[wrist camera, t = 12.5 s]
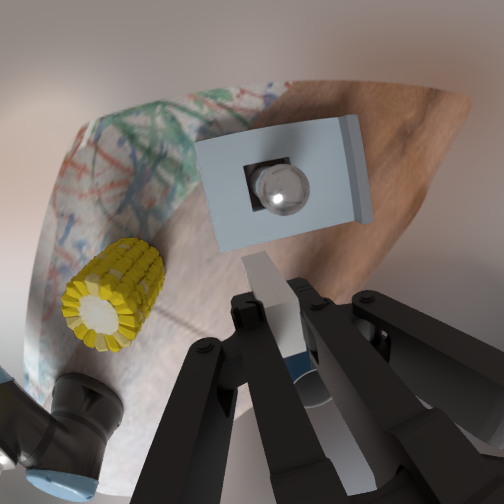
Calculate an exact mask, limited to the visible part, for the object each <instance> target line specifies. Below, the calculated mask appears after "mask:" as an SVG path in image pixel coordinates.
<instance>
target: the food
mask: <svg viewBox="0 0 504 504" xmlns="http://www.w3.org/2000/svg"><path fill="white" fill-rule="evenodd" d="M165 270H166V269H165V268H164V266H163V262H162V257H160V256H159V252H158V250H157V249H156V248H154V247H152V246H150V247H149V244H148V243H146V242H145V241H143V240H142V239H141V240H140V241H139V239H138V238H134V237H133V238H127V239H126V238H121V239H120V240H119V241H117V242H115V243H114V244H111V245H110V246H108V247H107V248H106V249H105V250H104V251H102V252H101V253H100V254H98V255H97V256H94V258H93V260H91V261H90V262H89V263H88V264H87V265H85V266H84V268H83V269H82V270H81V271H80V272H79V273H78V274H77V275H76V276H74V277H73V278H72V279H71V282H69V283H67V284H66V291H65V292H64V294H63V295H62V297H61V300H62V302H63V305H62V306H61V310H62V313H63V316H64V317H66V322H67V326H68V327H69V328H71V329H72V330H73V331H74V333H75V335H76V337H77V338H79V339H81V340H83V341H84V343H85V345H86V346H88V347H91V348H94V347H96V348H97V350H98V352H99V351H108V349H110V350H111V351H113V352H114V353H115V352H117V351H119V350H121V349H122V347H128V346H130V345H131V342H132V340H135V338H136V336H137V334H138V332H140V331H141V326H142V325H143V324H144V322H145V319H146V318H148V316H149V313H150V311H151V308H152V307H153V305H154V303H155V301H156V298H157V296H158V294H159V291H161V290H162V286H163V282H164V280H165V279H164V275H165V274H164V273H165Z"/></svg>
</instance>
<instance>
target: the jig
mask: <svg viewBox="0 0 504 504" xmlns="http://www.w3.org/2000/svg"><path fill="white" fill-rule="evenodd" d="M193 144H194V148H195V153H196V157H197V161H198V166H199V170H200V174H201V178H202V182H203V187H204V191H205V195H206V199H207V203H208V207H209V211H210V215H211V219H212V223H213V227H214V231H215V235H216V239H217V243H218V247H219V250H220V253H223V252H227V251H231V250H235V249H239V248H243V247H247V246H251V245H255V244H259V243H263V242H268V241H272V240H276V239H280V238H284V237H288V236H292V235H296V234H301V233H305V232H309V231H313V230H317V229H321V228H325V227H330V226H334V225H338V224H342V223H346V222H351V221H357V222H359V223H361V224H367V223H371V222H373V216H372V206H371V197H370V189H369V181H368V173H367V167H366V160H365V154H364V148H363V142H362V136H361V131H360V126H359V121H358V116H357V114H352V115H344V116H341V117H335V118H326V119H318V120H310V121H302V122H295V123H288V124H282V125H276V126H270V127H264V128H259V129H253V130H248V131H243V132H238V133H234V134H229V135H224V136H220V137H215V138H211V139H207V140H203V141H199V142H195V143H193ZM279 158H284V162H285V164H289V165H293V166H295V167H297V168H299V169H300V170H301V171H302V172H303V173H304V174H305V175H306V177H307V179H308V181H309V185H310V195H309V198H308V201H307V203H306V204H305V206H304V207H303V208H302V209H301V210H300V211H299V212H297V213H295V214H293V215H289V216H279V215H276V214H273V213H271V212H270V211H269V210H267V209H266V208H265V207H264V206H263V205H262V206H257V207H253V208H252V206H251V201H250V196H249V192H248V187H247V183H246V178H245V174H244V169H243V166H245V165H249V164H254V163H259V162H264V161H269V160H274V159H279Z"/></svg>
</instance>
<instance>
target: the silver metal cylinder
mask: <svg viewBox="0 0 504 504" xmlns="http://www.w3.org/2000/svg"><path fill="white" fill-rule="evenodd" d="M250 188H251V190H252V192H253V193H254V194H255V195H256V196H257V197H258V198H259V199H260V201H261V203H262V204H263V206H264V207H265V208H266V209H267V210H269V211H270V212H271V213H273V214H276V215H279V216H289V215H293V214H295V213H297V212H299V211H300V210H301V209H302V208H303V207H304V206H305V204H306V203H307V201H308V198H309V195H310V185H309V181H308V179H307V177H306V175H305V174H304V173H303V172H302V171H301V170H300V169H299V168H297V167H295V166H293V165H289V164H278V165H275V166H272V167H271V166H262V167H259V168H258V169H256V170H255V171H254V172H253V173H252V175H251V177H250Z"/></svg>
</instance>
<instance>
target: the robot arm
mask: <svg viewBox="0 0 504 504" xmlns="http://www.w3.org/2000/svg"><path fill="white" fill-rule="evenodd" d="M241 260H242V264H243V268H244V272H245V276H246V280H247V284H248V288H249V292H247V293H243V294H240V295H236V296H233V298H232V300H231V306H232V308H231V316H232V319H233V322H234V326H235V329H236V330H235V332H234V334H233V335H232V336H231V337H229V338H228V339H226V340H224V341H222V342H221V341H220V340H219V339H217V338H214V337H207V338H202V339H200V340H198V341H196V342H195V343H193V344H192V345H191V347H190V348H189V350H188V353H187V355H186V358H185V360H184V362H183V365H182V367H181V370H180V372H179V375H178V377H177V380H176V382H175V385H174V388H173V390H172V393H171V395H170V398H169V400H168V403H167V405H166V408H165V410H164V413H163V416H162V418H161V421H160V423H159V426H158V428H157V431H156V434H155V436H154V439H153V442H152V444H151V447H150V449H149V452H148V455H147V457H146V460H145V463H144V465H143V468H142V471H141V473H140V476H139V479H138V482H137V484H136V487H135V490H134V493H133V495H132V498H131V501H130V504H220V499H221V493H222V487H223V481H224V475H225V469H226V463H227V457H228V450H229V444H230V438H231V431H232V426H233V420H234V413H235V407H236V401H237V394H238V388H237V387H239V386H241V385H243V384H245V383H247V382H248V387H249V391H250V395H251V399H252V403H253V407H254V412H255V416H256V420H257V424H258V428H259V432H260V436H261V440H262V444H263V447H264V451H265V455H266V459H267V463H268V467H269V471H270V480H271V484H272V488H273V492H274V496H275V499H276V502H277V504H504V457H497V456H491V455H485V454H480V453H479V452H478V451H477V449H476V448H475V447H474V446H473V445H472V443H471V442H470V441H469V440H468V439H467V438H466V436H465V435H464V434H463V433H462V432H461V431H460V429H459V428H458V427H457V426H456V425H455V424H454V422H455V423H456V424H458V425H459V426H461V427H462V428H463V429H465V430H466V431H468V432H469V433H471V434H472V435H474V436H475V437H477V438H478V439H480V440H482V441H483V442H485V443H487V444H489V445H491V446H494V447H496V448H499V449H503V450H504V352H502V351H501V350H499V349H497V348H494V347H492V346H490V345H488V344H486V343H484V342H482V341H480V340H478V339H476V338H474V337H472V336H470V335H468V334H466V333H464V332H462V331H460V330H458V329H455V328H453V327H451V326H449V325H447V324H445V323H443V322H441V321H439V320H437V319H435V318H432V317H430V316H428V315H426V314H424V313H422V312H419V311H418V310H416V309H413V308H411V307H409V306H407V305H405V304H402V303H400V302H398V301H396V300H394V299H392V298H390V297H388V296H386V295H384V294H381V293H379V292H376V291H372V290H365V291H361V292H358V293H356V294H355V295H353V297H352V303H350V304H343V305H336V304H335V303H334V302H333V301H332V300H331V299H329V298H325V297H321V296H320V295H319V294H318V293H317V292H316V290H315V289H314V288H313V287H312V286H311V285H310V283H309V282H308V281H307V280H305V279H303V278H300V277H299V278H295V279H292V280H288V281H286V280H285V279H284V277H283V276H282V275H281V273H280V272H279V270H278V269H277V267H276V266H275V264H274V263H273V262H272V260H271V259H270V257H269V256H268V255H267V253H266V252H265V251H264V252H260V253H256V254H253V255H249V256H245V257H241ZM382 330H383V331H385V332H386V333H387V337H386V336H384V335H382ZM305 342H306V344H307V346H308V348H309V354H310V361H311V368H312V370H313V369H314V365H315V367H316V369H317V371H318V373H319V375H320V376H321V378H322V380H323V382H324V384H325V386H326V387H327V389H328V391H329V393H330V395H331V397H332V398H333V400H334V402H335V404H336V406H337V407H338V409H339V411H340V413H341V415H342V417H343V419H344V420H345V422H346V424H347V425H348V428H349V430H350V431H351V433H352V435H353V437H354V439H355V441H356V442H357V444H358V446H359V448H360V450H361V452H362V453H363V455H364V457H365V459H366V461H367V463H368V464H369V466H370V468H371V470H372V472H373V474H374V477H375V482H376V487H377V490H375V491H371V492H367V493H361V494H356V495H352V496H347V493H346V491H345V489H344V487H343V485H342V483H341V481H340V478H339V476H338V474H337V472H336V470H335V467H334V465H333V463H332V462H331V460H330V459H329V458H327V457H326V456H325V454H324V452H323V450H322V447H321V445H320V443H319V440H318V438H317V436H316V434H315V431H314V429H313V427H312V424H311V422H310V420H309V418H308V415H307V413H306V411H305V408H304V406H303V404H302V401H301V399H300V397H299V394H298V392H297V390H296V387H295V385H294V383H293V380H292V378H291V376H290V373H289V371H288V369H287V366H286V364H285V362H284V359H283V358H285V357H288V356H292V355H295V354H298V353H301V352H304V351H307V350H306V344H305ZM415 395H416V396H417V397H419V398H420V399H421V400H423V401H424V402H426V403H427V404H429V405H430V406H431V407H433V408H432V409H427V408H425V407H424V406H423V404H422V403H421V402H420V401H419V400H418V398H417V397H416V396H415ZM52 396H53V401H52V407H51V414H49V413H48V412H47V411H46V410H45V409H44V408H43V407H42V406H41V405H39V404H38V403H37V402H36V401H35V400H34V399H33V398H32V397H31V396H30V395H29V394H28V393H27V392H26V391H25V390H24V389H23V388H22V387H21V386H20V385H19V384H18V383H17V382H16V381H15V379H14V378H13V377H11V376H10V375H9V374H8V373H7V372H6V371H5V370H4V369H3V368H2V367H1V366H0V475H1V473H2V471H3V470H7V469H14V468H15V467H16V465H17V462H19V463H20V464H21V465H22V466H24V467H25V468H26V469H27V470H26V471H25V473H26V478H27V480H28V481H29V482H31V483H32V484H33V485H34V486H36V487H37V488H39V489H41V490H42V491H44V492H47V493H49V494H51V495H53V496H56V497H59V498H62V499H66V500H69V501H74V502H88V501H90V500H92V499H93V497H94V495H95V492H96V489H97V485H98V484H99V482H98V480H99V475H100V470H101V466H102V461H103V457H104V452H105V448H106V444H107V441H108V440H109V438H110V437H111V436H112V434H113V433H114V430H116V429H117V428H118V427H119V426H120V424H121V422H122V418H123V413H124V410H123V406H122V403H121V401H120V400H119V398H118V397H117V396H116V395H115V393H114V392H113V391H111V390H110V389H109V388H108V387H107V386H105V385H104V384H102V383H101V382H99V381H97V380H95V379H93V378H91V377H88V376H85V375H81V374H75V373H69V374H65V375H62V376H61V377H59V378H58V380H57V382H56V384H55V385H54V388H53V393H52Z"/></svg>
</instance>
